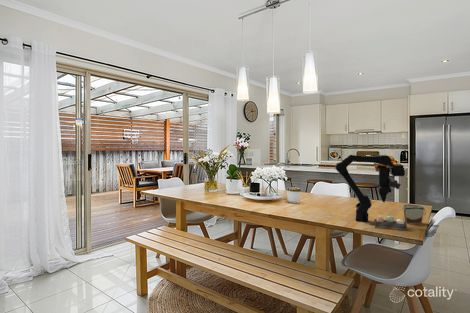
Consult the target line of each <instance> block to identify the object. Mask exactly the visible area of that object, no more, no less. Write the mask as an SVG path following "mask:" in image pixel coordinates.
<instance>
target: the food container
mask: <svg viewBox="0 0 470 313" xmlns="http://www.w3.org/2000/svg"><path fill="white" fill-rule="evenodd" d="M402 210H403V216H404V218H403V220H404V222H405V223H407V224H423V216H424V211H425V207H424V206H423V205H419V204H418V205H417V204H404V205H403V206H402Z"/></svg>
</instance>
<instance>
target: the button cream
mask: <svg viewBox="0 0 470 313" xmlns="http://www.w3.org/2000/svg"><path fill="white" fill-rule="evenodd" d="M395 221H396V223H397V224H404V222H405V220H404V219H399V218H397V219H396V220H395Z"/></svg>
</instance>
